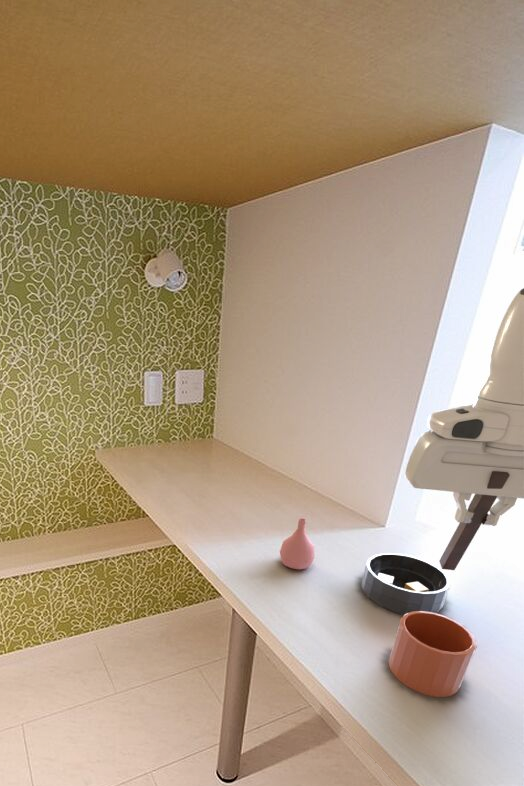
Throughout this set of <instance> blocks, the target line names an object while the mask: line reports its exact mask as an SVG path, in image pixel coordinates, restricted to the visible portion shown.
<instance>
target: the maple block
mask: <svg viewBox="0 0 524 786" xmlns="http://www.w3.org/2000/svg"><path fill="white" fill-rule="evenodd" d="M377 577H379V578H380V579H382V580H384V581H385V582H387V583H389V584H392V583H393V580H394V577H393V576H389V575H386V574H382V573H379V574H378V576H377Z"/></svg>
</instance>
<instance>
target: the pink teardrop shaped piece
mask: <svg viewBox="0 0 524 786" xmlns="http://www.w3.org/2000/svg"><path fill="white" fill-rule="evenodd" d="M306 523H307V519H305V518H303V517H302V518H301V517H300V518H298V522H297V527H296V530H295V531H294V532H293V533H292V535H290V536H289V537H287V538H285V539H284V540H283V541H282V544H281V546H280V549H279V556H280V560H281V563H282V564H283V565H284V566H285V567H288V568H290V569H292V570H306V569H308V568H309V567H310V566H311V565H312V563H313V561H314V559H315V555H316V554H315V551H316V550H315V545H314V544H313V543H312V541H311V540H310V539H309V537H308V535H307V533H306V530H305V529H306Z"/></svg>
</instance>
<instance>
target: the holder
mask: <svg viewBox="0 0 524 786" xmlns="http://www.w3.org/2000/svg"><path fill="white" fill-rule="evenodd" d="M477 647H478V645H477V639H476V637H475V636H474V634H473V633H472V631H470V630H469V629H468V628H467V627H466V626H464V625H463V624H461V623H460V622H459V621H457V620H455V619H453V618H451V617H448V616H446V615H444V614H440V613H433V612H426V611H413V612H410V613H407V614H403V616H402V617H401V618H400V621H399V623H398V628H397V630H396V635H395V638H394V641H393V644H392V647H391V651H390V654H389V658H388V666H389V669H390V671H391V673H392V674H393V676H394V677H395V678H396V679H397V680H398V681H399V682H401V683H402V684H403V685H405V686H406V687H408V688H410V689H411V690H413V691H415V692H416V693H420V694H423V695H425V696H430V697H435V698H447V697H451V696H453V695H456V693H458V691H459V690H460V689H461V686H462V684H463V682H464V679H465V677H466V674H467V673H468V669H469V666H470V665H471V662H472V660H473V657H474V654H475V652H476V650H477Z"/></svg>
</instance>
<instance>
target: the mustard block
mask: <svg viewBox="0 0 524 786" xmlns="http://www.w3.org/2000/svg"><path fill="white" fill-rule="evenodd" d="M404 589H407V590H410V591H418V592H428V591H429V589H428V588H426V587H425V586H423V585H422V584H421V583H419V582H418V581H417V582H411V583H406V584H405V587H404Z"/></svg>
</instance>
